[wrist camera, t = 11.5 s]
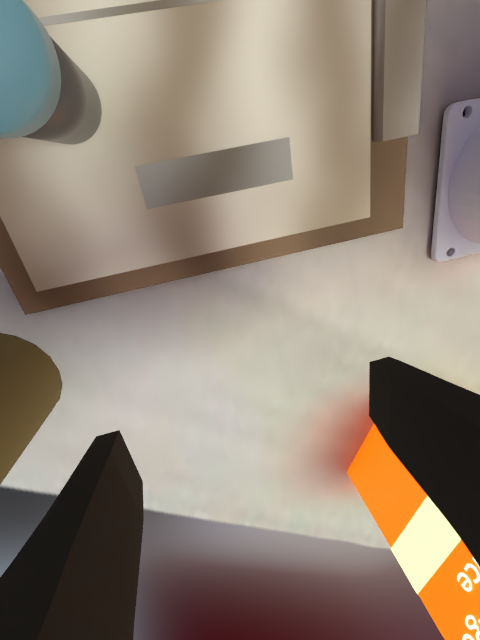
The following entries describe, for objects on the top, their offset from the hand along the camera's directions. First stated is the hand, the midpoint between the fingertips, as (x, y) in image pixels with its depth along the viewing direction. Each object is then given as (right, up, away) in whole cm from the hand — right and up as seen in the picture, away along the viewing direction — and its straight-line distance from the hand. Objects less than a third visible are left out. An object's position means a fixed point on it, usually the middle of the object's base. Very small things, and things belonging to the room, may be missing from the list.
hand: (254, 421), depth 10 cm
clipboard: (-2, +12, +5) cm, 13 cm away
